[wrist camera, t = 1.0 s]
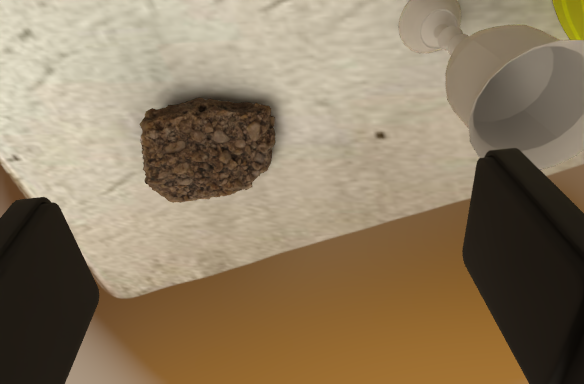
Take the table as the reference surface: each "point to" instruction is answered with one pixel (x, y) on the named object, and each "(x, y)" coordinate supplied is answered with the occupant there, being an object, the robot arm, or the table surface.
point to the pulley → (571, 17)
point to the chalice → (506, 82)
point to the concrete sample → (206, 148)
